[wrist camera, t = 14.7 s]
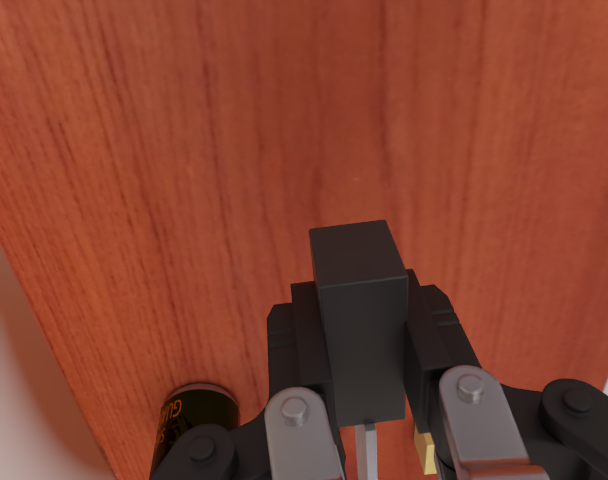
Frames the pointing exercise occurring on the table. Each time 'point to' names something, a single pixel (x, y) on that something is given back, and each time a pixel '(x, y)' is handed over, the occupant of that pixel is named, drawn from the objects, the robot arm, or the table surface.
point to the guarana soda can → (192, 415)
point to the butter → (425, 451)
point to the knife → (363, 327)
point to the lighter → (341, 456)
